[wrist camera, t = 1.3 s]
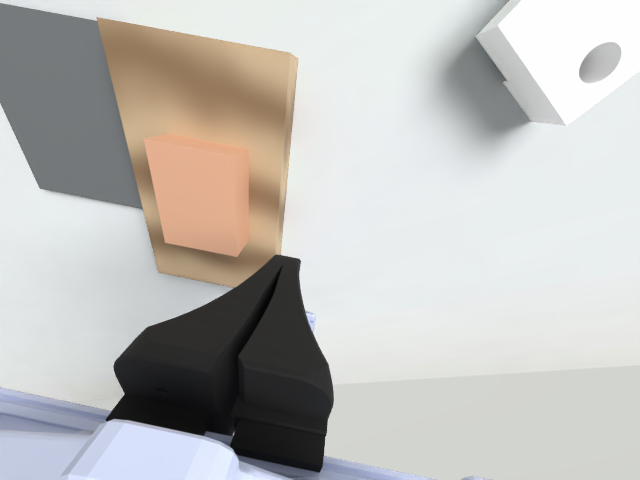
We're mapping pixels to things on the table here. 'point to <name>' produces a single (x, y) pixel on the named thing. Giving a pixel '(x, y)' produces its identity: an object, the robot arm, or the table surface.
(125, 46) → the board
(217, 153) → the block
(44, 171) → the mat
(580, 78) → the bracket
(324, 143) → the table surface
